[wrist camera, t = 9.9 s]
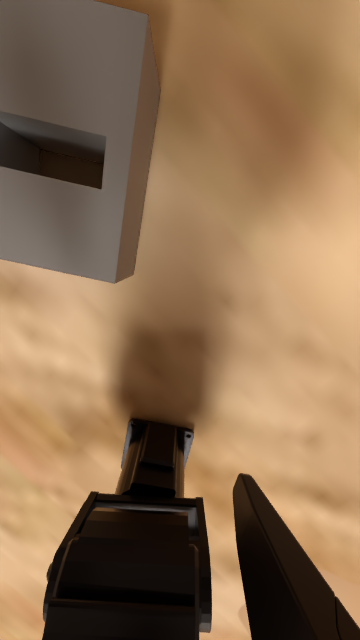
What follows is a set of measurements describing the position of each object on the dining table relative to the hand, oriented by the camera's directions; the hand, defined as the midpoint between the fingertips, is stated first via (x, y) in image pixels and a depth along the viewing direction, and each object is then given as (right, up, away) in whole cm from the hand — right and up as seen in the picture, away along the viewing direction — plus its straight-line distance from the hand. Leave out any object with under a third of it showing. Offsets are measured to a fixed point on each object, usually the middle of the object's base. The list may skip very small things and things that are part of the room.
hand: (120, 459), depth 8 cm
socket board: (-9, +16, +8) cm, 20 cm away
